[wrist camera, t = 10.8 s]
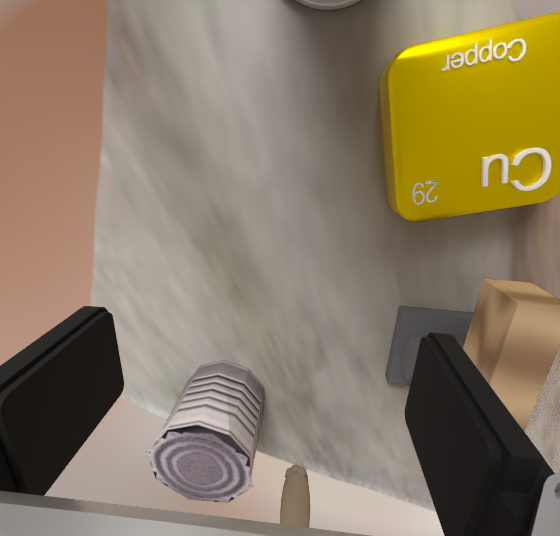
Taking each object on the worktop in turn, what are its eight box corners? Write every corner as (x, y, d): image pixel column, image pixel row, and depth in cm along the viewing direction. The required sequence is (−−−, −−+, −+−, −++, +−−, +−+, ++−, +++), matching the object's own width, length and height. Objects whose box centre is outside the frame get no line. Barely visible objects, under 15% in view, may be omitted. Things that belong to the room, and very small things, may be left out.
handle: (320, 481, 50) (324, 612, 36) (279, 484, 51) (267, 612, 37) (314, 457, 48) (317, 584, 34) (272, 461, 49) (257, 586, 35)
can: (282, 391, 45) (273, 472, 33) (236, 438, 48) (213, 525, 37) (213, 344, 43) (179, 413, 32) (171, 397, 47) (127, 475, 35)
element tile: (548, 24, 29) (592, 1, 24) (536, 193, 34) (571, 200, 29) (376, 63, 31) (387, 48, 27) (388, 217, 36) (399, 226, 31)
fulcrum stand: (399, 306, 39) (421, 343, 31) (504, 315, 38) (551, 356, 31) (385, 375, 42) (401, 423, 35) (480, 385, 41) (518, 437, 34)
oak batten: (483, 278, 29) (517, 303, 24) (531, 282, 28) (575, 308, 24) (425, 474, 37) (442, 522, 32) (461, 479, 37) (483, 527, 32)
